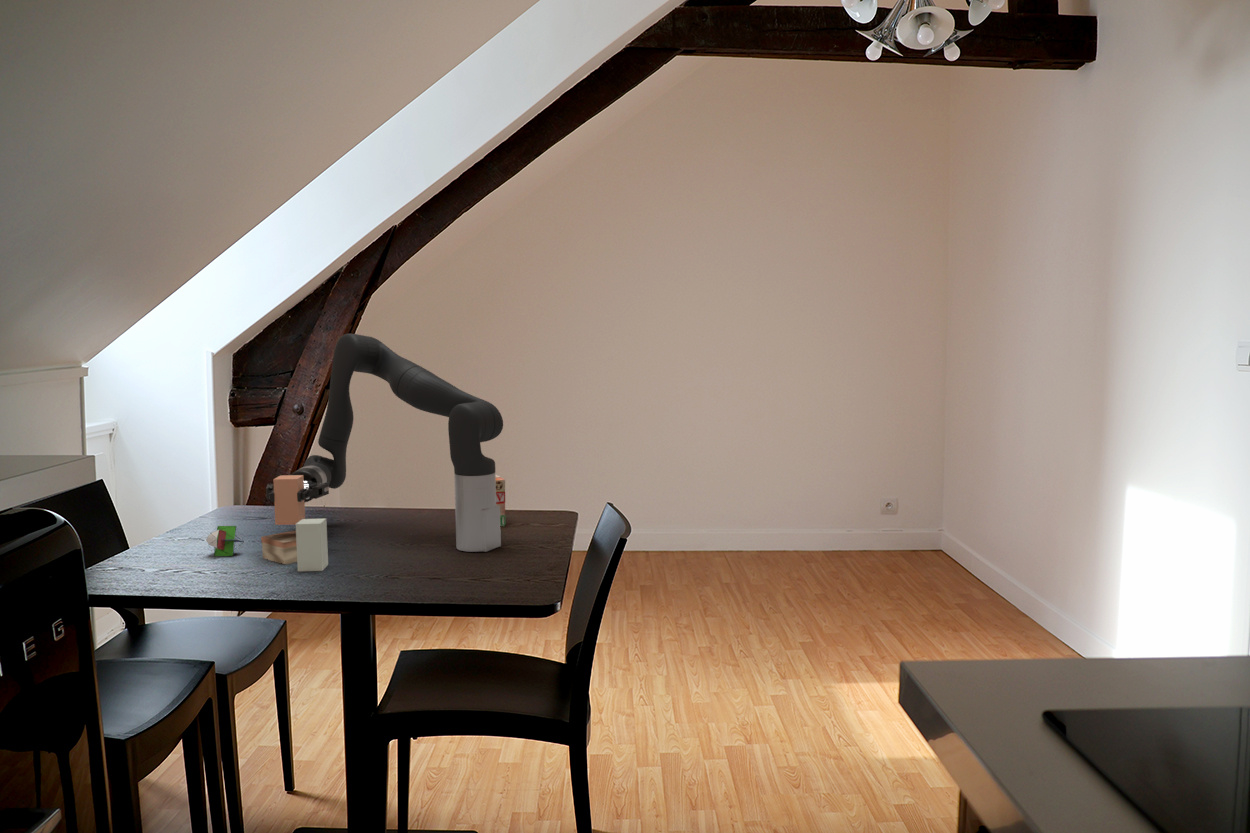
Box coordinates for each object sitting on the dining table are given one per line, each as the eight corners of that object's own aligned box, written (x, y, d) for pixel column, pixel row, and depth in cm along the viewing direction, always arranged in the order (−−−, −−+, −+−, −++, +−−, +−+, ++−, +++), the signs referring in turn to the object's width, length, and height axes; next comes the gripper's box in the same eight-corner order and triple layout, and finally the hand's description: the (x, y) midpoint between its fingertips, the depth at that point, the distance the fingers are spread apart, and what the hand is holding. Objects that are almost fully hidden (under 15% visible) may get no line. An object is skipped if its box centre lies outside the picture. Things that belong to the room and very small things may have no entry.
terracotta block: (305, 519, 204) (303, 475, 203) (298, 524, 199) (297, 479, 198) (282, 519, 203) (280, 475, 202) (275, 524, 198) (273, 479, 197)
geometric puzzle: (221, 539, 209) (209, 516, 204) (250, 539, 209) (239, 516, 204) (210, 564, 204) (198, 542, 199) (240, 564, 204) (229, 541, 198)
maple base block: (322, 557, 202) (322, 534, 202) (284, 565, 195) (283, 542, 195) (300, 550, 208) (299, 529, 208) (262, 559, 201) (261, 536, 201)
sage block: (328, 564, 195) (326, 518, 194) (322, 570, 190) (320, 523, 189) (304, 565, 195) (302, 519, 194) (297, 571, 190) (295, 524, 189)
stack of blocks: (460, 513, 248) (459, 468, 247) (482, 511, 250) (481, 467, 249) (482, 529, 228) (481, 480, 227) (506, 526, 231) (505, 478, 230)
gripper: (274, 467, 214) (251, 480, 197) (337, 467, 215) (319, 479, 198) (276, 499, 214) (252, 515, 198) (338, 498, 216) (320, 513, 199)
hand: (286, 497), depth 198 cm, fingers closed on terracotta block, 5 cm apart
